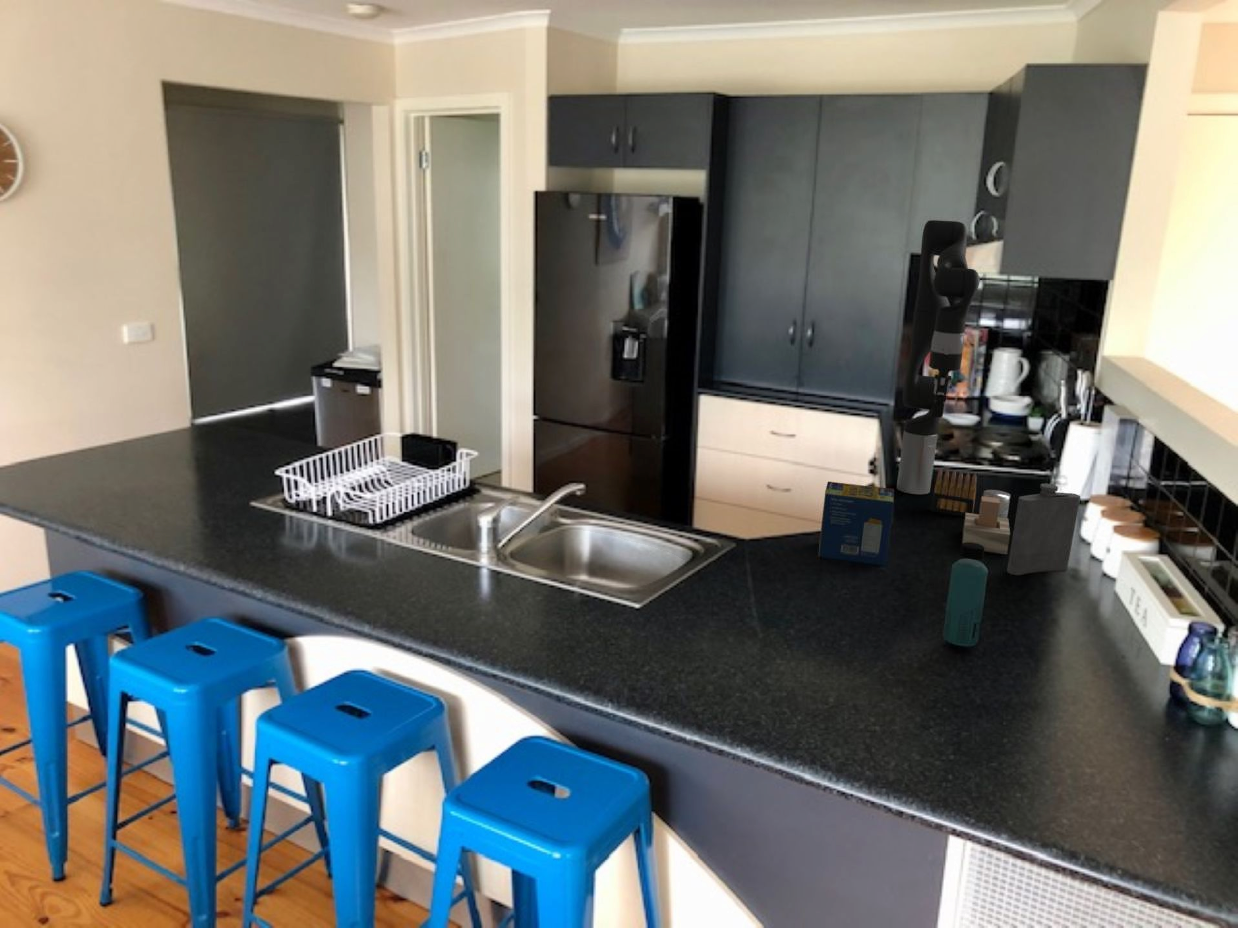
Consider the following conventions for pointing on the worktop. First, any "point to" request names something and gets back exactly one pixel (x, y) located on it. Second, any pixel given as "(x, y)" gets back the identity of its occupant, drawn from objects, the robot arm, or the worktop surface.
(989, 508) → the square peg
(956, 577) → the beverage bottle
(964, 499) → the ammunition clip
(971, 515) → the socket block
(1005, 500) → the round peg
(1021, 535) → the hip flask
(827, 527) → the protein box
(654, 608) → the worktop surface
